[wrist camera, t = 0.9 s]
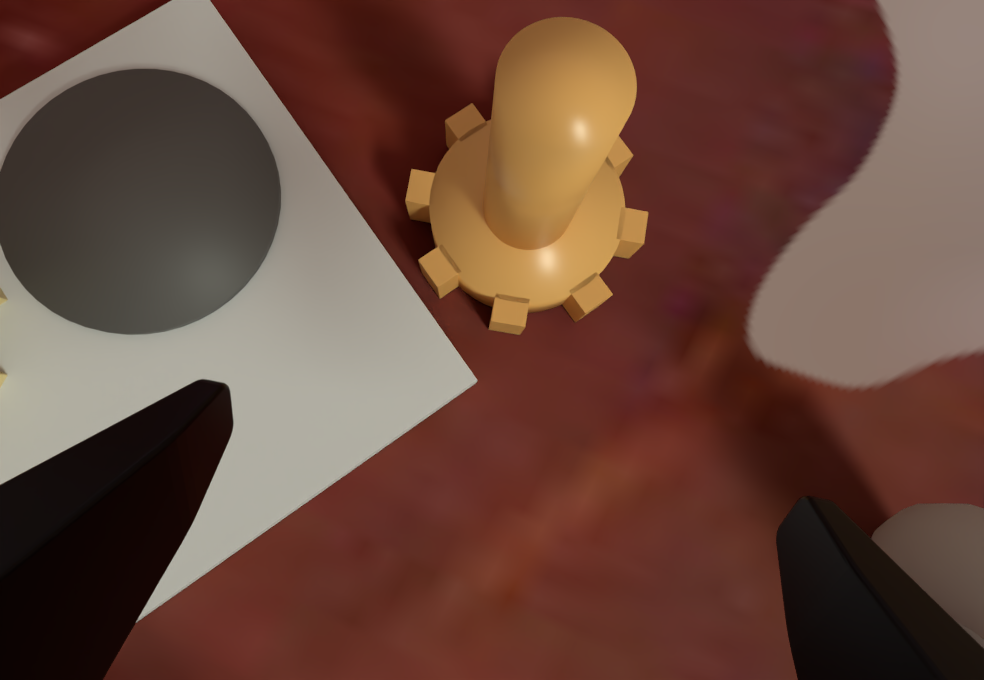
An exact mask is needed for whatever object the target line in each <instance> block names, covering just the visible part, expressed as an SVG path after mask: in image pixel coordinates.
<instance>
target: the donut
mask: <svg viewBox="0 0 984 680" xmlns="http://www.w3.org/2000/svg"><path fill="white" fill-rule="evenodd" d="M871 539H872V540H873V541H874V542H875V543H876V544H877V545H878V546H879V547H880V548H881V549H882V550H883V551H884V552H885V553H886V554H887V555H888V556H889V557H890V558H891V559H892V560H893V561H894V562H895V563H897V564H898V565H899V566H900V567H901V568H902V569H903V570H904V571H905V572H906V573H907V574H908V575H909V576H910V577H911V578H912V579H913V580H914V581H915V582H916V583H917V584H918V585H919V586H920V587H921V588H922V589H923V590H924V591H925V592H926V593H927V594H928V595H929V596H930V597H931V598H932V599H934V600H935V601H936V602H937V603H938V604H939V605H940V606H941V607H942V608H943V609H944V610H945V611H946V612H947V613H948V614H949V615H950V616H951V617H952V618H953V619H954V620H955V621H956V622H957V623H958V624H959V625H960V626H961V627H962V628H963V629H964V630H965V631H966V632H967V633H968V634H970V635H971V636H972V637H973V638H974V639H975V640H976V641H977V642H978V643H979V644H980V645H981V646H982V647H983V648H984V509H983V508H980V507H977V506H974V505H970V504H916V505H914V506H911V507H908V508H905V509H903V510H901V511H900V512H898V513H897V514H895V515H894V516H893V517H891V518H890V519H888V520H887V521H885V522H884V523H883V524H882V525H881V526H880V527H878V528H877V529H876V530H875V531H874V533H873V535H872V537H871Z"/></svg>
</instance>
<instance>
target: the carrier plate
mask: <svg viewBox="0 0 984 680" xmlns="http://www.w3.org/2000/svg"><path fill="white" fill-rule="evenodd" d="M200 379H207V380H212V381H218V382H223V383H225V384H227V385H228V386H229V388H230V392H231V402H232V411H233V421H234V424H233V431H232V435H231V437H230V440H229V442H228V444H227V447H226V449H225V451H224V454H223V456H222V458H221V460H220V463H219V465H218V467H217V470H216V472H215V474H214V477H213V479H212V481H211V483H210V486H209V488H208V490H207V493H206V495H205V497H204V499H203V502H202V504H201V506H200V509H199V511H198V513H197V515H196V517H195V519H194V522H193V524H192V526H191V527H190V529H189V531H188V533H187V535H186V537H185V538H184V540H183V542H182V544H181V545H180V547H179V549H178V551H177V552H176V554H175V556H174V557H173V559H172V561H171V563H170V564H169V566H168V568H167V569H166V571H165V573H164V575H163V576H162V578H161V580H160V582H159V583H158V585H157V587H156V588H155V590H154V592H153V594H152V595H151V597H150V599H149V601H148V602H147V604H146V606H145V607H144V609H143V611H142V613H141V614H140V616H139V618H138V620H137V621H136V622H138V621H139V620H141V619H142V618H143V617H145V616H146V615H148V614H149V613H150V612H152V611H153V610H155V609H156V608H158V607H159V606H160V605H162V604H163V603H165V602H166V601H167V600H169V599H170V598H172V597H173V596H175V595H176V594H177V593H179V592H180V591H182V590H183V589H184V588H186V587H187V586H189V585H190V584H192V583H193V582H194V581H196V580H197V579H199V578H200V577H202V576H203V575H204V574H206V573H207V572H209V571H210V570H211V569H213V568H214V567H216V566H217V565H219V564H220V563H221V562H223V561H224V560H226V559H227V558H228V557H230V556H231V555H233V554H234V553H236V552H237V551H238V550H240V549H241V548H243V547H244V546H245V545H247V544H248V543H250V542H251V541H253V540H254V539H255V538H257V537H258V536H260V535H261V534H262V533H264V532H265V531H267V530H268V529H270V528H271V527H272V526H274V525H275V524H277V523H278V522H280V521H281V520H282V519H284V518H285V517H287V516H288V515H289V514H291V513H292V512H294V511H295V510H297V509H298V508H299V507H301V506H302V505H304V504H305V503H306V502H308V501H309V500H311V499H312V498H314V497H315V496H316V495H318V494H319V493H321V492H322V491H323V490H325V489H326V488H328V487H329V486H331V485H332V484H333V483H335V482H336V481H338V480H339V479H341V478H342V477H343V476H345V475H346V474H348V473H349V472H350V471H352V470H353V469H355V468H356V467H358V466H359V465H360V464H362V463H363V462H365V461H366V460H367V459H369V458H370V457H372V456H373V455H375V454H376V453H377V452H379V451H380V450H382V449H383V448H384V447H386V446H387V445H389V444H390V443H392V442H393V441H394V440H396V439H397V438H399V437H400V436H401V435H403V434H404V433H406V432H407V431H409V430H410V429H411V428H413V427H414V426H416V425H417V424H419V423H420V422H421V421H423V420H424V419H426V418H427V417H428V416H430V415H431V414H433V413H434V412H436V411H437V410H438V409H440V408H441V407H443V406H444V405H445V404H447V403H448V402H450V401H451V400H453V399H454V398H455V397H457V396H458V395H460V394H461V393H462V392H464V391H465V390H467V389H468V388H470V387H471V386H472V385H474V384H475V383H476V382H477V379H476V377H475V376H474V375H473V373H472V372H471V370H470V369H469V368H468V366H467V365H466V363H465V362H464V360H463V359H462V358H461V356H460V355H459V353H458V352H457V350H456V349H455V348H454V346H453V345H452V343H451V342H450V341H449V339H448V338H447V336H446V335H445V333H444V332H443V331H442V329H441V328H440V326H439V325H438V324H437V322H436V321H435V319H434V318H433V316H432V315H431V314H430V312H429V311H428V309H427V308H426V306H425V305H424V304H423V302H422V301H421V299H420V298H419V297H418V295H417V294H416V292H415V291H414V289H413V288H412V287H411V285H410V284H409V282H408V281H407V279H406V278H405V277H404V275H403V274H402V272H401V271H400V270H399V268H398V267H397V265H396V264H395V262H394V261H393V260H392V258H391V257H390V255H389V254H388V253H387V251H386V250H385V248H384V247H383V245H382V244H381V243H380V241H379V240H378V238H377V237H376V235H375V234H374V233H373V231H372V230H371V228H370V227H369V226H368V224H367V223H366V221H365V220H364V218H363V217H362V216H361V214H360V213H359V211H358V210H357V208H356V207H355V206H354V204H353V203H352V201H351V200H350V199H349V197H348V196H347V194H346V193H345V191H344V190H343V189H342V187H341V186H340V184H339V183H338V181H337V180H336V179H335V177H334V176H333V174H332V173H331V172H330V170H329V169H328V167H327V166H326V164H325V163H324V162H323V160H322V159H321V157H320V156H319V155H318V153H317V152H316V150H315V149H314V147H313V146H312V145H311V143H310V142H309V140H308V139H307V137H306V136H305V135H304V133H303V132H302V130H301V129H300V128H299V126H298V125H297V123H296V122H295V120H294V119H293V118H292V116H291V115H290V113H289V112H288V110H287V109H286V108H285V106H284V105H283V103H282V102H281V101H280V99H279V98H278V96H277V95H276V93H275V92H274V91H273V89H272V88H271V86H270V85H269V84H268V82H267V81H266V79H265V78H264V76H263V75H262V74H261V72H260V71H259V69H258V68H257V66H256V65H255V64H254V62H253V61H252V59H251V58H250V57H249V55H248V54H247V52H246V51H245V49H244V48H243V47H242V45H241V44H240V42H239V41H238V39H237V38H236V37H235V35H234V34H233V32H232V31H231V30H230V28H229V27H228V25H227V24H226V22H225V21H224V20H223V18H222V17H221V15H220V14H219V12H218V11H217V10H216V8H215V7H214V5H213V4H212V3H211V1H210V0H172V1H170V2H168V3H166V4H165V5H163V6H161V7H159V8H158V9H156V10H154V11H153V12H151V13H149V14H147V15H146V16H144V17H142V18H140V19H139V20H137V21H135V22H133V23H132V24H130V25H128V26H127V27H125V28H123V29H121V30H120V31H118V32H116V33H114V34H113V35H111V36H109V37H107V38H106V39H104V40H102V41H101V42H99V43H97V44H95V45H94V46H92V47H90V48H88V49H87V50H85V51H83V52H81V53H80V54H78V55H76V56H75V57H73V58H71V59H69V60H68V61H66V62H64V63H62V64H61V65H59V66H57V67H55V68H54V69H52V70H50V71H49V72H47V73H45V74H43V75H42V76H40V77H38V78H36V79H35V80H33V81H31V82H29V83H28V84H26V85H24V86H23V87H21V88H19V89H17V90H16V91H14V92H12V93H10V94H9V95H7V96H5V97H3V98H2V99H0V484H2V483H4V482H6V481H8V480H10V479H12V478H14V477H16V476H17V475H19V474H21V473H23V472H25V471H27V470H29V469H31V468H32V467H34V466H36V465H38V464H40V463H42V462H44V461H46V460H48V459H49V458H51V457H53V456H55V455H57V454H59V453H61V452H63V451H64V450H66V449H68V448H70V447H72V446H74V445H76V444H78V443H80V442H81V441H83V440H85V439H87V438H89V437H91V436H93V435H95V434H96V433H98V432H100V431H102V430H104V429H106V428H108V427H110V426H112V425H113V424H115V423H117V422H119V421H121V420H123V419H125V418H127V417H128V416H130V415H132V414H134V413H136V412H138V411H140V410H142V409H144V408H145V407H147V406H149V405H151V404H153V403H155V402H157V401H159V400H160V399H162V398H164V397H166V396H168V395H170V394H172V393H174V392H176V391H177V390H179V389H181V388H183V387H185V386H187V385H189V384H191V383H192V382H194V381H197V380H200Z"/></svg>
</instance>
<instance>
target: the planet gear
mask: <svg viewBox="0 0 984 680" xmlns="http://www.w3.org/2000/svg"><path fill="white" fill-rule="evenodd" d="M636 90H637V84H636V75H635V70H634V67H633V64H632V61H631V59H630V57H629V55H628V54H627V52H626V51H625V49H624V48H623V46H622V45H621V44H620V43H619V42H618V40H617V39H616V38H615V37H613V36H612V35H611V34H610V33H609V32H607V31H606V30H604V29H603V28H601V27H599V26H597V25H596V24H593V23H591V22H588V21H585V20H581V19H578V18H570V17H556V18H548V19H544V20H541V21H538V22H535V23H533V24H531V25H529V26H527V27H525V28H524V29H522V30H521V31H520V32H518V33H517V34H516V35H515V36H514V37H513V38H512V39H511V40H510V41H509V43H508V44H507V45H506V47H505V48H504V50H503V52H502V54H501V56H500V58H499V61H498V65H497V68H496V76H495V86H494V96H493V106H492V117H491V120H489V121H485V120H484V118H483V117H482V116H481V114H480V113H479V112H478V110H477V109H476V107H475V106H474V105H473V103H471V104H470V105H468V106H467V107H465V108H464V109H462V110H460V111H459V112H457V113H456V114H454V115H453V116H451V117H450V118H448V119H446V120H445V130H446V145H447V147H448V148H449V150H448V152H447V153H446V154H445V156H444V157H443V159H442V161H441V162H440V164H439V166H438V168H437V171H436V173H432V172H426V171H421V170H415V169H411V174H410V180H409V185H408V190H407V195H406V200H405V202H406V205H407V209H408V213H409V217H410V219H412V220H417V221H423V222H428V223H431V227H432V233H433V239H434V244H435V249H434V250H432V251H431V252H429V253H428V254H426V255H425V256H423V257H422V258H420V259H419V260H418V261H419V265H420V268H421V272H422V274H423V276H424V277H425V278H426V280H427V281H428V283H429V284H430V285H431V287H432V288H433V290H434V291H435V293H436V294H437V295H438V297H439V298H442V297H443V296H445V295H446V294H448V293H449V292H451V291H452V290H454V289H455V288H457V287H458V286H459V287H460V288H461V289H462V290H463V291H464V292H465V293H467V294H468V295H470V296H471V297H472V298H474V299H475V300H477V301H479V302H481V303H483V304H485V305H487V306H490V307H492V312H491V318H490V324H489V330H495V331H500V332H506V333H512V334H517V335H520V334H521V332H522V331H523V329H524V328H525V325H526V319H527V313H533V312H540V311H545V310H548V309H552V308H555V307H557V306H560V305H563V307H564V308H565V309H566V311H567V312H568V314H569V315H570V316H571V318H572V319H573V320H574V322H577V321H578V320H580V319H581V318H582V317H584V316H585V315H587V314H588V313H590V312H591V311H592V310H594V309H595V308H597V307H598V306H599V305H601V304H602V303H603V302H604V301H606V300H607V299H608V298H609V297H611V296H612V295H613V294H612V293H611V291H610V290H609V288H608V287H607V286H606V284H605V283H604V282H603V280H602V279H601V278H600V276H599V274H600V273H601V272H602V271H603V270H604V268H605V267H606V266H607V264H608V263H609V262H610V260H611V259H612V257H613V256H617V257H623V258H628V259H629V258H630V257H631V256H632V255H633V254H634V253H635V252H636V251H637V250H638V249H639V248H640V247H641V246H642V245H643V244H644V239H645V232H646V225H647V218H648V212H646V211H640V210H635V209H629V208H625V200H624V194H623V189H622V185H621V182H620V179H619V176H620V175H621V173H622V172H623V170H624V169H625V167H626V166H627V164H628V163H629V161H630V159H631V158H632V156H633V154H632V153H631V152H630V150H629V149H628V148H627V146H626V145H625V144H624V142H623V141H622V140H621V138H620V137H619V134H620V132H621V130H622V128H623V127H624V125H625V123H626V121H627V119H628V117H629V116H630V114H631V112H632V109H633V106H634V103H635V99H636Z"/></svg>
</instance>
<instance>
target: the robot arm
mask: <svg viewBox="0 0 984 680" xmlns="http://www.w3.org/2000/svg"><path fill="white" fill-rule="evenodd" d="M233 424H234V421H233V411H232V402H231V392H230V388H229V386H228V385H227V384H225V383H223V382H218V381H212V380H207V379H200V380H197V381H194V382H192V383H191V384H189V385H187V386H185V387H183V388H181V389H179V390H177V391H176V392H174V393H172V394H170V395H168V396H166V397H164V398H162V399H160V400H159V401H157V402H155V403H153V404H151V405H149V406H147V407H145V408H144V409H142V410H140V411H138V412H136V413H134V414H132V415H130V416H128V417H127V418H125V419H123V420H121V421H119V422H117V423H115V424H113V425H112V426H110V427H108V428H106V429H104V430H102V431H100V432H98V433H96V434H95V435H93V436H91V437H89V438H87V439H85V440H83V441H81V442H80V443H78V444H76V445H74V446H72V447H70V448H68V449H66V450H64V451H63V452H61V453H59V454H57V455H55V456H53V457H51V458H49V459H48V460H46V461H44V462H42V463H40V464H38V465H36V466H34V467H32V468H31V469H29V470H27V471H25V472H23V473H21V474H19V475H17V476H16V477H14V478H12V479H10V480H8V481H6V482H4V483H2V484H0V680H103V678H104V676H105V675H106V673H107V671H108V670H109V668H110V666H111V664H112V663H113V661H114V659H115V657H116V656H117V654H118V652H119V651H120V649H121V647H122V645H123V644H124V642H125V640H126V638H127V637H128V635H129V633H130V632H131V630H132V628H133V626H134V625H135V623H136V621H137V620H138V618H139V616H140V614H141V613H142V611H143V609H144V607H145V606H146V604H147V602H148V601H149V599H150V597H151V595H152V594H153V592H154V590H155V588H156V587H157V585H158V583H159V582H160V580H161V578H162V576H163V575H164V573H165V571H166V569H167V568H168V566H169V564H170V563H171V561H172V559H173V557H174V556H175V554H176V552H177V551H178V549H179V547H180V545H181V544H182V542H183V540H184V538H185V537H186V535H187V533H188V531H189V529H190V527H191V526H192V524H193V522H194V519H195V517H196V515H197V513H198V511H199V509H200V506H201V504H202V502H203V499H204V497H205V495H206V493H207V490H208V488H209V486H210V483H211V481H212V479H213V477H214V474H215V472H216V470H217V467H218V465H219V463H220V460H221V458H222V456H223V454H224V451H225V449H226V447H227V444H228V442H229V440H230V437H231V435H232V431H233ZM776 544H777V552H778V560H779V569H780V577H781V585H782V593H783V601H784V610H785V618H786V625H787V631H788V637H789V642H790V647H791V652H792V656H793V660H794V665H795V669H796V673H797V678H798V680H984V648H983V647H982V646H981V645H980V644H979V643H978V642H977V641H976V640H975V639H974V638H973V637H972V636H971V635H970V634H968V633H967V632H966V631H965V630H964V629H963V628H962V627H961V626H960V625H959V624H958V623H957V622H956V621H955V620H954V619H953V618H952V617H951V616H950V615H949V614H948V613H947V612H946V611H945V610H944V609H943V608H942V607H941V606H940V605H939V604H938V603H937V602H936V601H935V600H934V599H932V598H931V597H930V596H929V595H928V594H927V593H926V592H925V591H924V590H923V589H922V588H921V587H920V586H919V585H918V584H917V583H916V582H915V581H914V580H913V579H912V578H911V577H910V576H909V575H908V574H907V573H906V572H905V571H904V570H903V569H902V568H901V567H900V566H899V565H898V564H897V563H895V562H894V561H893V560H892V559H891V558H890V557H889V556H888V555H887V554H886V553H885V552H884V551H883V550H882V549H881V548H880V547H879V546H878V545H877V544H876V543H875V542H874V541H873V540H872V539H871V538H870V537H869V536H868V535H867V534H866V533H865V532H864V531H863V530H862V529H861V528H860V527H858V526H857V525H856V524H855V523H854V522H853V521H852V520H851V519H850V518H849V517H848V516H847V515H846V514H845V513H844V512H843V511H842V510H841V509H840V508H839V507H838V506H837V505H836V504H835V503H833V502H832V501H830V500H827V499H822V498H817V497H812V496H804V497H802V498H800V499H799V500H798V501H797V502H796V504H795V505H794V507H793V508H792V509H791V511H790V512H789V514H788V515H787V516H786V518H785V519H784V520H783V522H782V523H781V525H780V526H779V528H778V531H777V536H776Z"/></svg>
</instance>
